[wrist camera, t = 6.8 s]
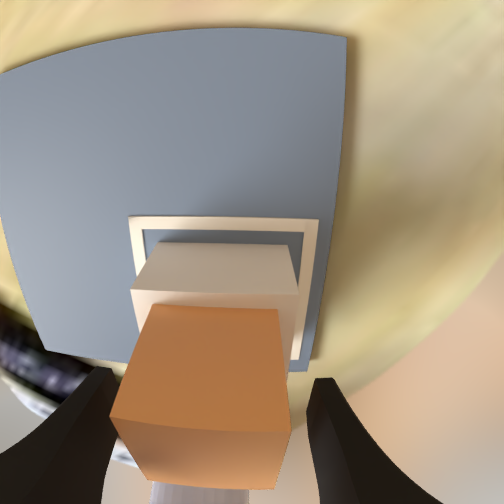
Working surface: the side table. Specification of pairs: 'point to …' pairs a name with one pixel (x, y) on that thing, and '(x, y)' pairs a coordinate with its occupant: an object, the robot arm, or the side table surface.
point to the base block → (220, 281)
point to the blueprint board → (166, 169)
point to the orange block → (206, 398)
